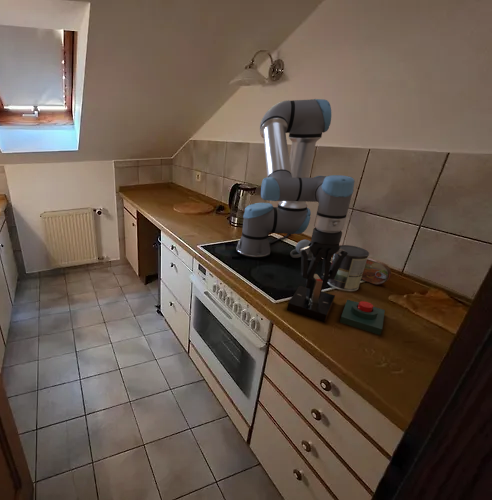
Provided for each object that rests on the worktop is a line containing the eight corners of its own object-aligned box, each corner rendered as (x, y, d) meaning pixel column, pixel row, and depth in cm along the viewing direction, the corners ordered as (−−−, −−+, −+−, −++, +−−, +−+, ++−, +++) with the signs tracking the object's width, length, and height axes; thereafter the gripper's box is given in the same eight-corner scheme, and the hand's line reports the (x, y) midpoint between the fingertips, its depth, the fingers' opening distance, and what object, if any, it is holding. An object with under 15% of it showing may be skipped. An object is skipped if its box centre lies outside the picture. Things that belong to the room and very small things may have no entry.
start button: (358, 304, 94) (359, 299, 93) (372, 308, 91) (373, 303, 91) (356, 309, 91) (358, 305, 90) (371, 314, 89) (372, 309, 88)
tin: (343, 271, 121) (348, 252, 118) (348, 270, 123) (353, 251, 119) (383, 288, 109) (390, 267, 105) (388, 286, 110) (395, 266, 107)
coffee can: (327, 287, 110) (335, 253, 105) (326, 276, 119) (334, 243, 113) (360, 294, 106) (371, 258, 100) (357, 281, 114) (367, 247, 109)
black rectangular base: (298, 292, 108) (299, 285, 107) (333, 302, 101) (335, 294, 100) (286, 310, 98) (288, 302, 97) (324, 323, 91) (326, 314, 90)
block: (345, 305, 100) (348, 294, 98) (382, 315, 94) (386, 305, 92) (339, 322, 91) (342, 311, 90) (380, 335, 86) (384, 324, 84)
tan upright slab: (306, 294, 101) (311, 273, 98) (312, 295, 101) (317, 273, 97) (311, 302, 96) (316, 280, 93) (317, 303, 96) (323, 280, 93)
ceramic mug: (309, 252, 140) (311, 237, 137) (318, 260, 132) (321, 243, 129) (286, 253, 140) (288, 238, 137) (294, 261, 132) (297, 245, 129)
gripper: (305, 232, 87) (291, 301, 96) (361, 234, 84) (342, 304, 93) (297, 224, 94) (285, 289, 103) (349, 225, 91) (332, 292, 100)
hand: (312, 296), depth 98 cm, fingers closed on tan upright slab, 2 cm apart
